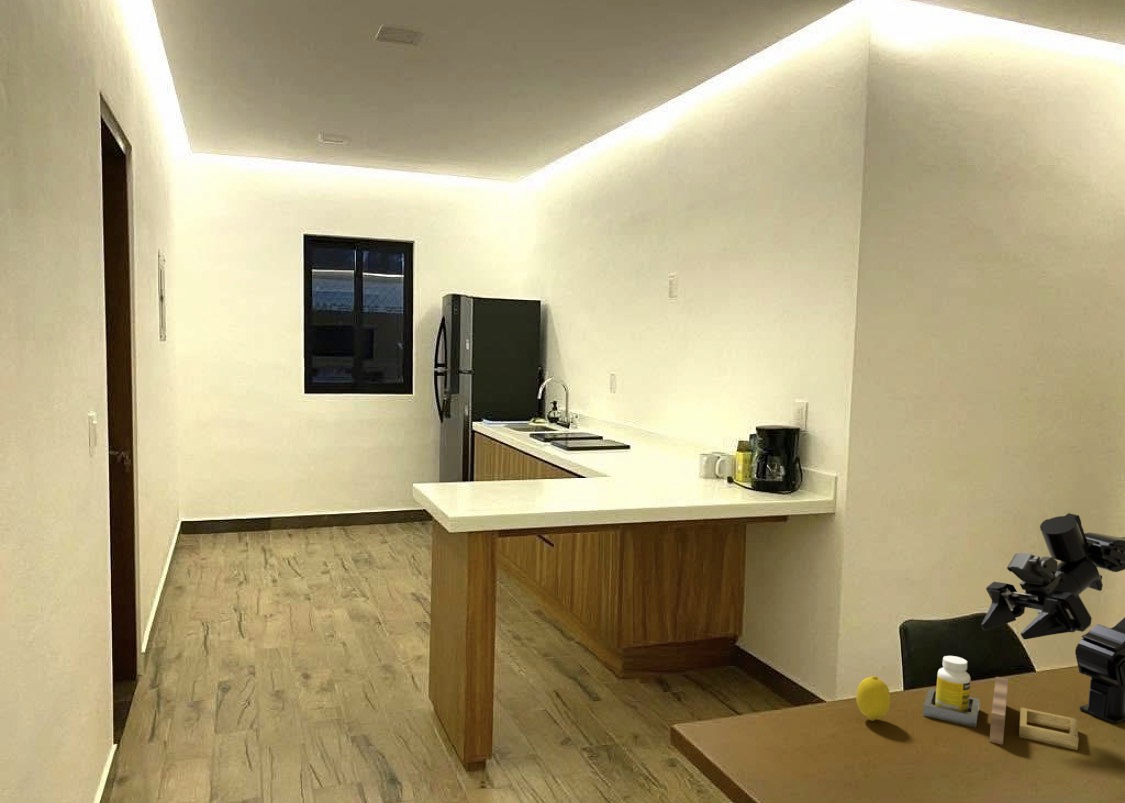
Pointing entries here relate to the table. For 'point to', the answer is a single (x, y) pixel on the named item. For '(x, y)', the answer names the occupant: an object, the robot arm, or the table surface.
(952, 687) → the supplement bottle
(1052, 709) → the table surface
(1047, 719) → the frame
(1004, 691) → the brown wooden bar
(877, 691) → the lemon
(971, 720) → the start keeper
